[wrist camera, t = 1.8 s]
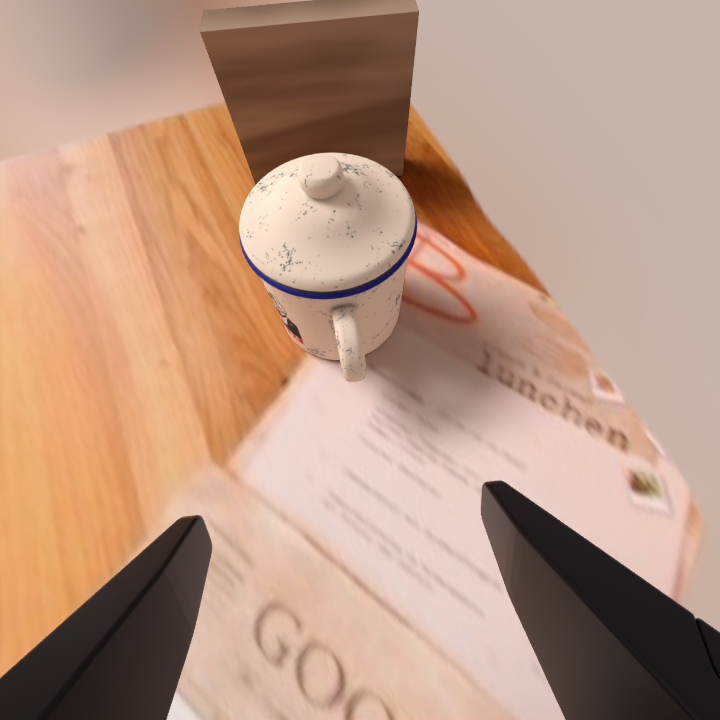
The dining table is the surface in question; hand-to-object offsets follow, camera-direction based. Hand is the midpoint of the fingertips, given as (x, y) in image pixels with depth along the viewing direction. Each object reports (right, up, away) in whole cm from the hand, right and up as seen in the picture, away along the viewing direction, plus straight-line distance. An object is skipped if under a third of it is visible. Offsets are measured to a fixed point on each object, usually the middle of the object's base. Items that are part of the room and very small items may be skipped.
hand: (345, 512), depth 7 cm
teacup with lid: (-1, +6, +17) cm, 18 cm away
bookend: (-2, +20, +23) cm, 31 cm away
